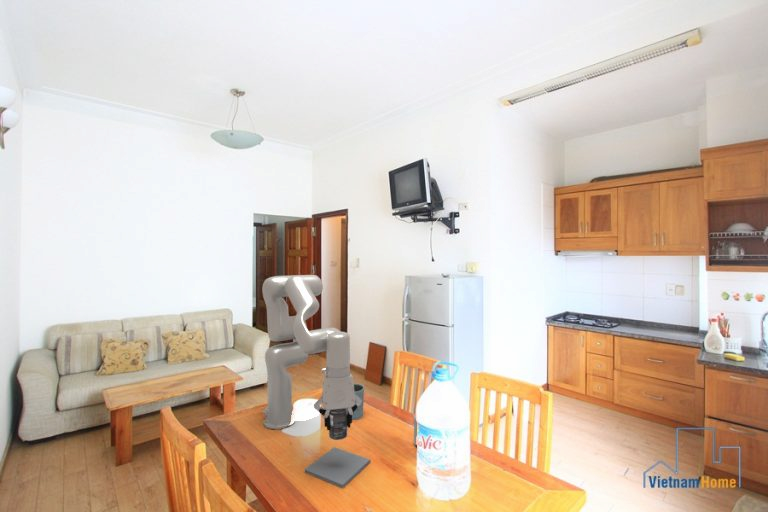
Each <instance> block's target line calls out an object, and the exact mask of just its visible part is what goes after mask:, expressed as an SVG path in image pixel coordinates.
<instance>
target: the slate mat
mask: <svg viewBox="0 0 768 512" xmlns="http://www.w3.org/2000/svg"><path fill="white" fill-rule="evenodd" d="M369 464H371V459H370V458H367V457H364V456H361V455H359V454H355V453H353V452H350V451H347V450H344V449H341V448H339V447H336V446H334V447H332V448H331V449H329V450H328V451H327V452H325V453H324V454H322V455H321V456H320V457H319V458H318V459H316V460H315V461H313V462H312V463H311V464H310V465H308V466H307V467H305V468H304V473H305V474H307V475H309V476H312V477H314V478H317V479H319V480H322V481H324V482H327V483H330V484H332V485H334V486H337V487H339V488H342V489H344V488H345V487H346V486H347V485H348V484H349V483H350V482H351V481H352V480H353V479H354V478H355V477H356V476H358V475H359V474H360V472H362V471H363V470H365V468H366V467H367V466H368V465H369Z"/></svg>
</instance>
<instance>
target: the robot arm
mask: <svg viewBox="0 0 768 512" xmlns="http://www.w3.org/2000/svg"><path fill="white" fill-rule="evenodd" d="M323 286H324V283H323V281H322V280H321V278H320V277H319V276H318V275H316V274H296V275H275V276H271V277H270V276H269V277H268V278H266V279H265V280H264V282H263V284H262V289H261V290H262V297H263V300H264V303H265V306H266V319H267V320H266V321H267V335H268V338H269V340H270V341H271V342H275V343H276V342H283V341H284V342H285V341H289V340H292V342H286V343H280V344H275V345H273V346H270V347H268V348H267V350H266V351H265V352H264V354H265V355H264V361H265V365H266V366H265V367H266V375H267V376H266V377H267V406H266V407H265V408H264V410H262V412H261V413H262V414H263V415H265V418H264V420H263V426H264V427H265V428H267V429H270V430H281V429H286V428H288V427H287V426H288V425H289V424H290V422H291V415H292V414H293V411H292V409H293V406H292V405H293V397H292V395H293V394H292V393H293V390H292V389H293V386H292V385H293V380H292V379H293V378H292V375H291V374H290V373H289V372H288V371H287V368H290V367H294V366H298V365H302V364H304V363H306V361H308V357H309V355H313V354H319V353H323V352H326V353H325V354H326V355H325V356H326V361H325V362H326V364H325V367H323V368H321V374H324V376H323V382H322V392H321V396H320V398H318V400H317V401H316V402H315V403H314V404H313V408H314V409H315V410H316V411H317V412H318V413H320V415H322V416H323V418H324V422H323V423H324V424H323V425H324V427H326V430H327V431H329V430H330V418H329V412H330V410H336V409H345V408H347V409H348V411H347V420H348V421H347V422H348V429H350V428H351V424H353V420H352V415H353V412H354V411H355V410H356V409H357V407H358V406H359V405H360V404H361V403H362V400H361V399H360V398H359V397H358V396H357V395H356V394H355V393H354V382H355V381H354V376H353V374H352V373H351V360H350V359H351V352H350V351H351V349H350V348H351V345H350V344H351V343H350V342H351V341H350V340H351V338H350V334H349V333H348V332H345V331H341V330H339V329H338V328H336V327H326V328H317V329H313V330H309V329H308V327H307V326H308V325H307V322H306V321H307V320H308V319H310V318H311V317H313V316H314V315H315V314H316V313H317V312H318V311H319V308H320V303H319V300H318V299H317V298H316V297H317V296H319V295H321V293H322V292H323V289H324V288H323ZM285 297H288V298H289V300H290V302H291V304H292V307H293V308H294V310H295V312H296V315H292V316H290V314H289V305H288V303H287V302H286V300H285V299H284V298H285ZM355 400H356V402H355ZM321 405H322V407H321ZM285 427H286V428H285Z"/></svg>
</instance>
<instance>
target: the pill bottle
mask: <svg viewBox="0 0 768 512" xmlns="http://www.w3.org/2000/svg"><path fill="white" fill-rule="evenodd" d="M329 418H330V430H328V431H329V432H328V435H329V436H328V437H329V438H330V439H331V440H334V441H341V440H344V439H346V438H347V437H348V433H349V431H348V429H349V427H348V422H347V421H348V420H347V408H345V409H336V410H330V412H329Z"/></svg>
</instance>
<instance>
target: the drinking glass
mask: <svg viewBox="0 0 768 512" xmlns="http://www.w3.org/2000/svg"><path fill="white" fill-rule="evenodd" d="M354 393H355V394H356V395H357V396H358V397H359V398H360V399H361V400H362V403H361V404H360V405H359V406H358V407H357V409H356V410H355V411H354V412H353V415H352V421H356V420H360V419H362V417H363V415H364V401H365V400H364V396H365V395H364V394H365V386H364V385H363V384H360V383H354ZM355 402H356V400H355ZM347 411H348V409H347Z"/></svg>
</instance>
